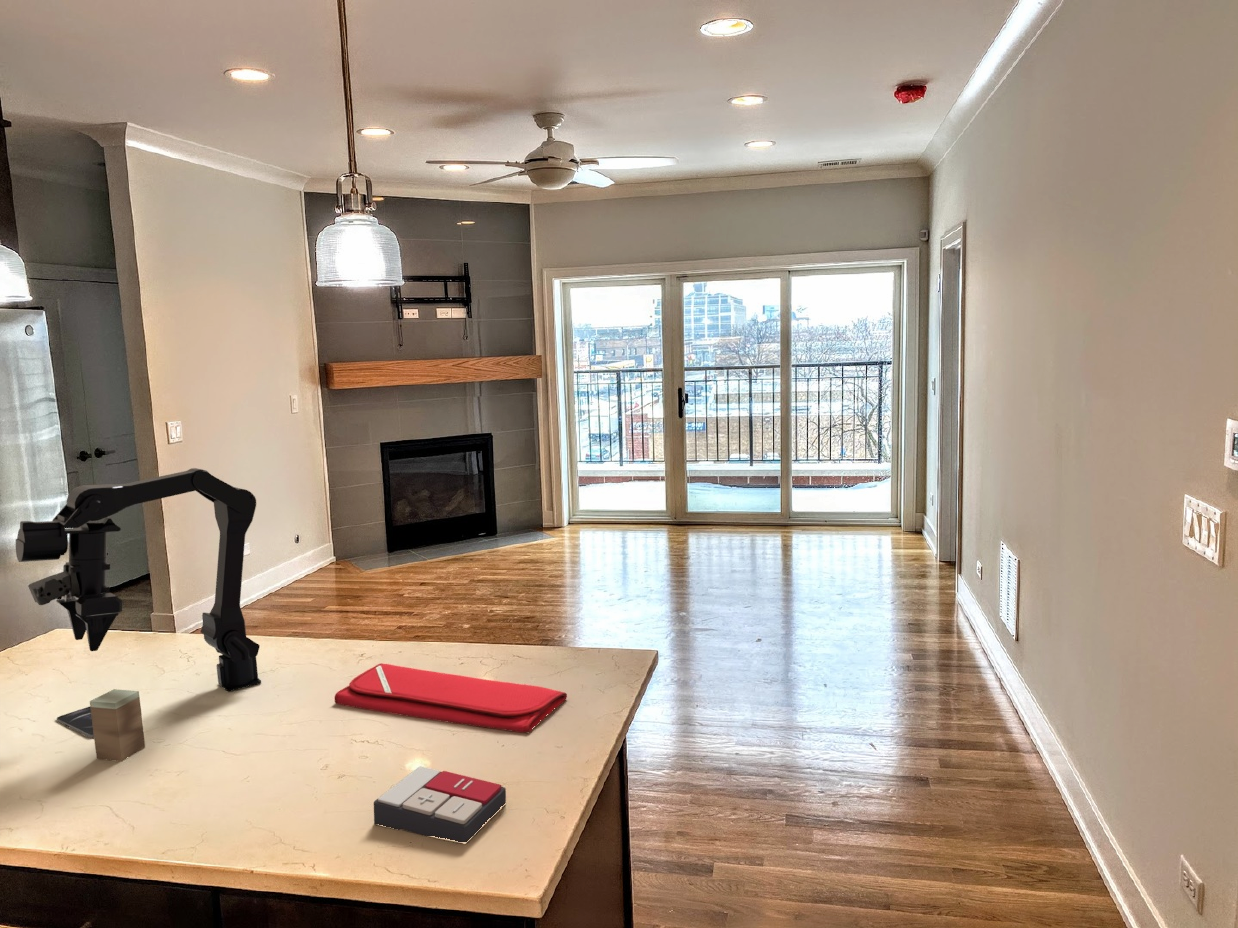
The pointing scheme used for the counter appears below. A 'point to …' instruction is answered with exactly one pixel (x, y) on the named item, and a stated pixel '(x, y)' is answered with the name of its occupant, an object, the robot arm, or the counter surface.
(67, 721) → the smartphone
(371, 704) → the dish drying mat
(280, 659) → the counter surface
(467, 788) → the calculator
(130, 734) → the walnut block
